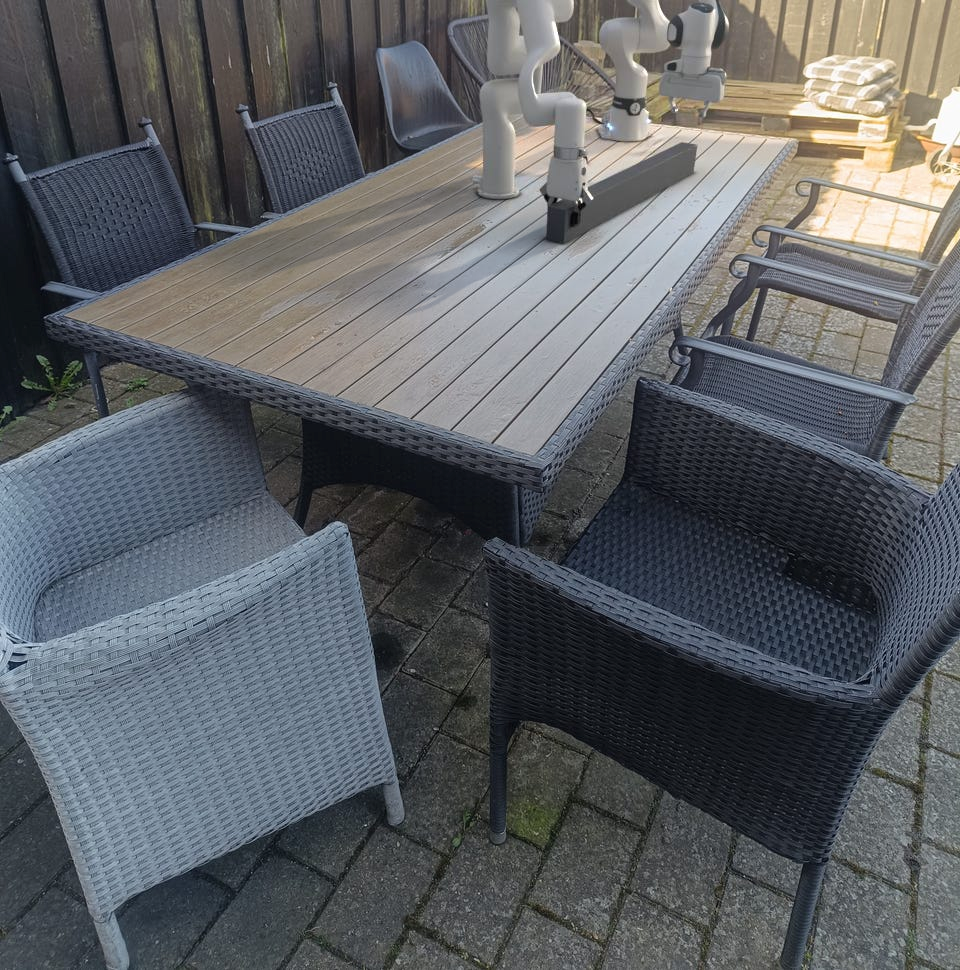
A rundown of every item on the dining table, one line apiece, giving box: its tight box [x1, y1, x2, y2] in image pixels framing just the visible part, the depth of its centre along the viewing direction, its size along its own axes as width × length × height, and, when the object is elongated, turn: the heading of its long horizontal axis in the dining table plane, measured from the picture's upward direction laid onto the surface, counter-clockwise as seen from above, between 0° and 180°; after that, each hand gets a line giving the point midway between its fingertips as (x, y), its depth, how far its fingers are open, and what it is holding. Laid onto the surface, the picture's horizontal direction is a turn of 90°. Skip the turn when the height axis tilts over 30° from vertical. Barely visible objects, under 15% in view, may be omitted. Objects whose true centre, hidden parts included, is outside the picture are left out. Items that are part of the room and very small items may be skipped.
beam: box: [545, 141, 698, 245], centre depth 246 cm, size 81×6×9 cm, turn 144°
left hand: (564, 222), depth 222 cm, fingers open, 6 cm apart
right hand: (688, 114), depth 261 cm, fingers open, 8 cm apart
